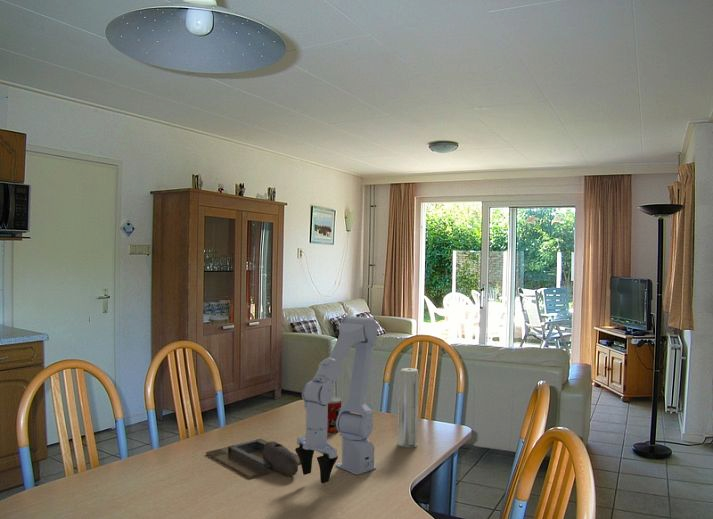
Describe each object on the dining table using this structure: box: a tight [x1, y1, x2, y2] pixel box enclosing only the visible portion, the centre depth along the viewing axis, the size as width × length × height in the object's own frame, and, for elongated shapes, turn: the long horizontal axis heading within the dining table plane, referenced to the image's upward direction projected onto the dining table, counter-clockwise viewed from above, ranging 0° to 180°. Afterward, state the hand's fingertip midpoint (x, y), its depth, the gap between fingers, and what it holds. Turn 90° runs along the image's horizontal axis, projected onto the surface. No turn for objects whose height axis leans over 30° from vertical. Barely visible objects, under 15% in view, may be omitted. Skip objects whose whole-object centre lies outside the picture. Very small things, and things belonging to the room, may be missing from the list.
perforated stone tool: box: [262, 441, 299, 477], centre depth 160 cm, size 15×5×7 cm, turn 39°
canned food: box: [327, 396, 343, 434], centre depth 200 cm, size 8×8×11 cm
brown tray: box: [205, 438, 301, 480], centre depth 170 cm, size 25×20×3 cm
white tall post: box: [397, 367, 420, 449], centre depth 185 cm, size 6×6×25 cm
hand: (315, 477), depth 149 cm, fingers open, 7 cm apart
